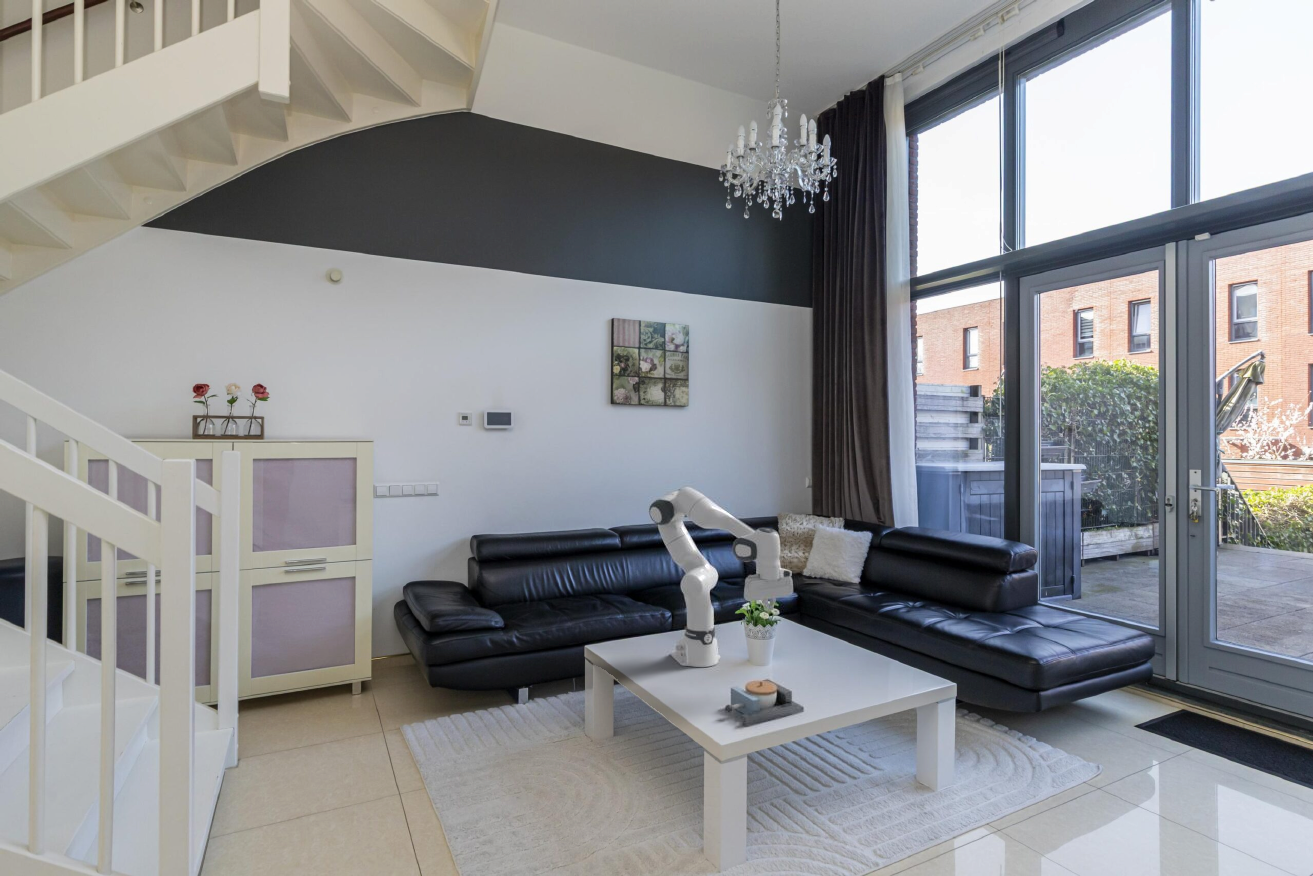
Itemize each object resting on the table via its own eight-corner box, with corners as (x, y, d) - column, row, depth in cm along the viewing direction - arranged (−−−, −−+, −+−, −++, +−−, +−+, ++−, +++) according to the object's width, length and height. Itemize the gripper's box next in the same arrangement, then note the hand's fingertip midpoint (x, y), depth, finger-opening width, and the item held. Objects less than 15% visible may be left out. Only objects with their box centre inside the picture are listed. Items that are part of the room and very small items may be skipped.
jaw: (713, 709, 223) (713, 691, 223) (737, 704, 228) (737, 686, 228) (735, 724, 212) (735, 705, 212) (760, 717, 216) (760, 699, 216)
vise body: (718, 709, 224) (718, 690, 224) (774, 695, 236) (774, 677, 236) (745, 726, 211) (745, 706, 211) (803, 711, 222) (803, 692, 222)
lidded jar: (739, 708, 225) (738, 681, 225) (759, 700, 232) (758, 673, 232) (763, 718, 217) (763, 690, 217) (783, 709, 224) (783, 681, 224)
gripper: (750, 577, 234) (751, 616, 234) (795, 571, 243) (795, 608, 243) (740, 574, 239) (740, 612, 239) (784, 568, 249) (784, 605, 249)
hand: (768, 610), depth 241 cm, fingers closed
